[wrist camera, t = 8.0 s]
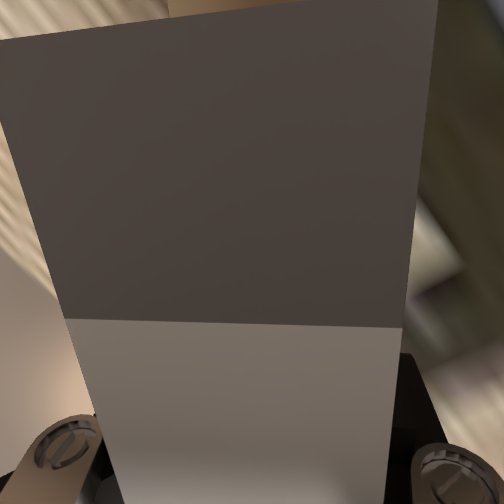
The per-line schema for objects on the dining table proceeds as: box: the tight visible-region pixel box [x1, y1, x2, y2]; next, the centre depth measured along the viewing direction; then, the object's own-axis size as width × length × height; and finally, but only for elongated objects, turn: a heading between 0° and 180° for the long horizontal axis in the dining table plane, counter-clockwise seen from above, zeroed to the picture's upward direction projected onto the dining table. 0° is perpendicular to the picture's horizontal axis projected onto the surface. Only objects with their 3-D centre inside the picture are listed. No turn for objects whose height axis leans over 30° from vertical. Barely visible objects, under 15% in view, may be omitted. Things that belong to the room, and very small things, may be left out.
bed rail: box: [0, 0, 438, 504], centre depth 8 cm, size 4×14×5 cm, turn 5°
